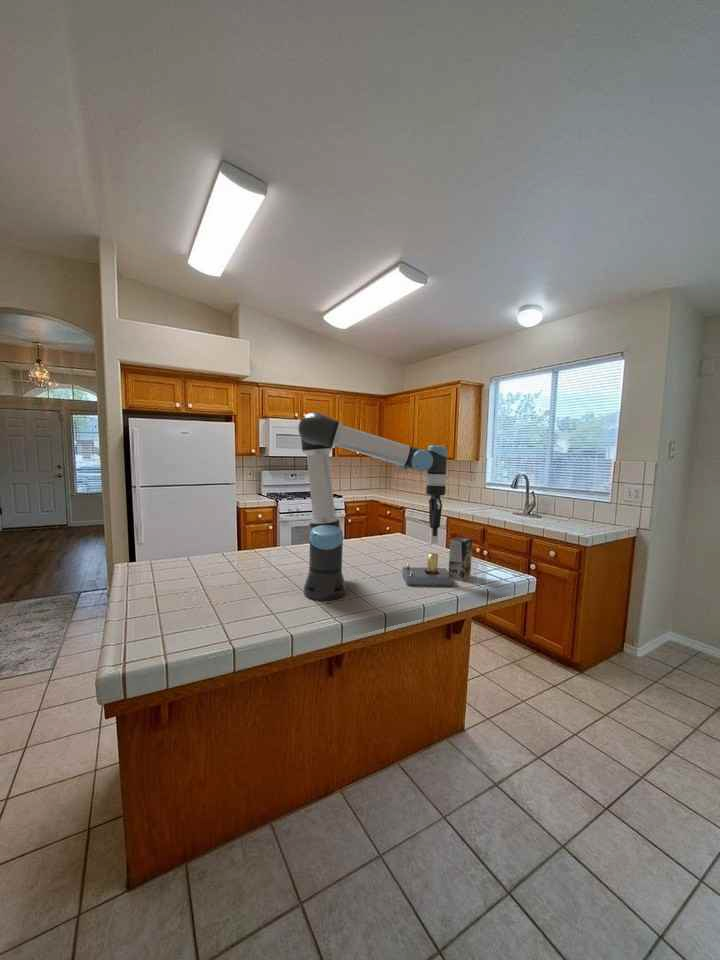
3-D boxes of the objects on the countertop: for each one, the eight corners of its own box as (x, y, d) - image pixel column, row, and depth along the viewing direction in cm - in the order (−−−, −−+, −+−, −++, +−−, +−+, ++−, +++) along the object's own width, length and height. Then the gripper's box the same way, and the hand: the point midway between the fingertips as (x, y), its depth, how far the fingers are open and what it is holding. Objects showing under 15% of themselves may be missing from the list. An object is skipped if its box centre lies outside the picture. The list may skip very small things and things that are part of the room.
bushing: (437, 582, 154) (438, 555, 153) (427, 582, 154) (428, 555, 153) (435, 579, 158) (436, 552, 157) (425, 579, 158) (426, 552, 157)
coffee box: (462, 581, 156) (464, 542, 155) (447, 578, 160) (449, 539, 159) (471, 576, 163) (473, 538, 162) (456, 572, 167) (458, 536, 166)
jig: (406, 585, 149) (407, 572, 149) (402, 575, 161) (402, 563, 161) (452, 586, 150) (453, 573, 150) (445, 576, 162) (445, 564, 162)
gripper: (449, 486, 147) (447, 547, 148) (441, 483, 160) (439, 539, 161) (430, 486, 146) (427, 547, 148) (423, 483, 159) (421, 539, 161)
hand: (433, 543), depth 155 cm, fingers closed
